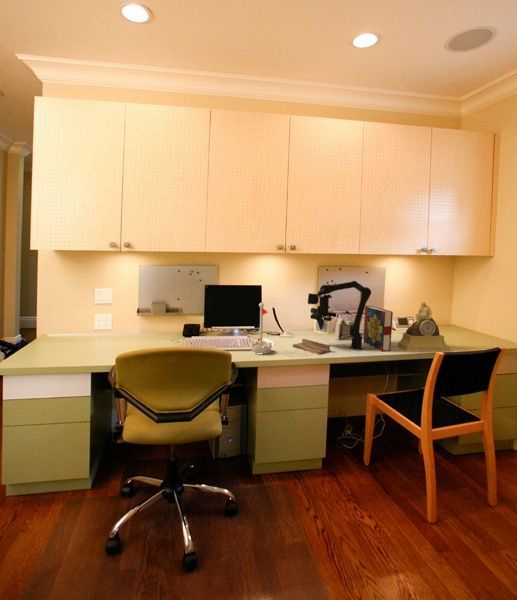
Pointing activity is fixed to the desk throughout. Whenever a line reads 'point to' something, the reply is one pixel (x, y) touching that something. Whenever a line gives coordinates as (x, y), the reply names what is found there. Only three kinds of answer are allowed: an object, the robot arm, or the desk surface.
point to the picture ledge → (312, 346)
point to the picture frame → (324, 327)
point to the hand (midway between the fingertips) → (323, 328)
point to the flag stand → (261, 346)
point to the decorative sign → (342, 328)
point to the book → (378, 327)
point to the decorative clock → (423, 333)
